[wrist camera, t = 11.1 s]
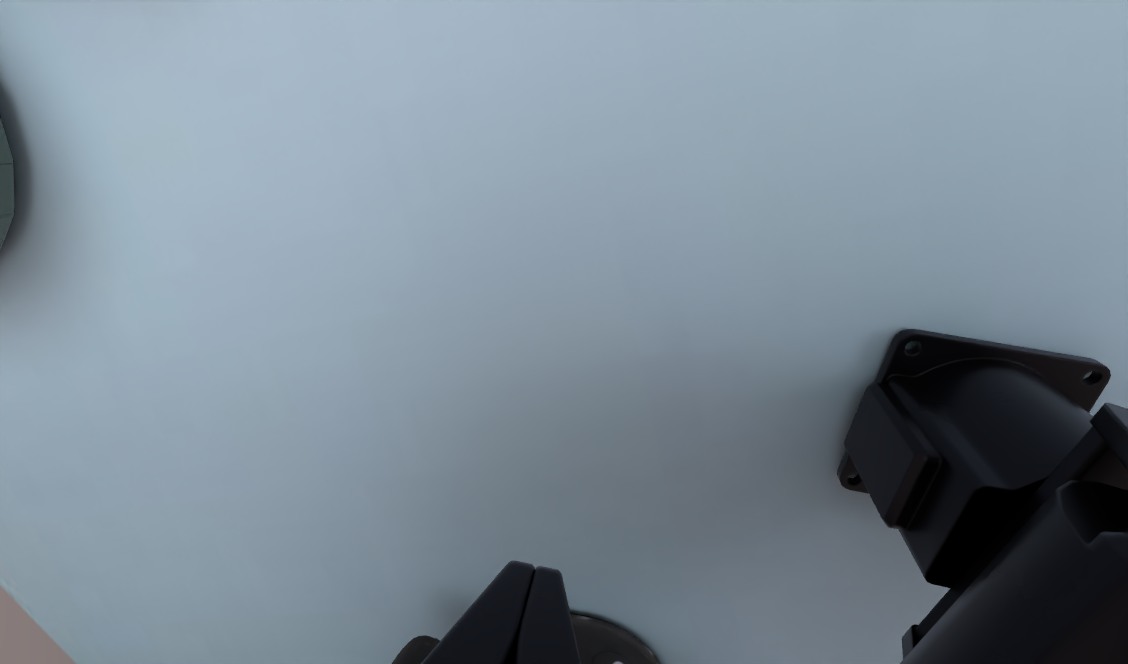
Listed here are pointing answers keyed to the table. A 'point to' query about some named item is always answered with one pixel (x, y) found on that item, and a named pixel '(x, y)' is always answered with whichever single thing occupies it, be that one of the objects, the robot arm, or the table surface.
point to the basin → (5, 186)
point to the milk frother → (603, 648)
